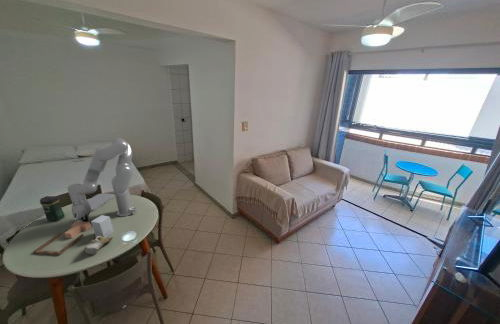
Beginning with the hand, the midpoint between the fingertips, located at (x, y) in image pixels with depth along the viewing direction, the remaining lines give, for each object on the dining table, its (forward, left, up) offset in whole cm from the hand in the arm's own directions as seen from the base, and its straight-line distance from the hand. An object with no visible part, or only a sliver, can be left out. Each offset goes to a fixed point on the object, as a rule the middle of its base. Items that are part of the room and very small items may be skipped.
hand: (86, 222), depth 139 cm
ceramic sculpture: (-26, +20, -2) cm, 33 cm away
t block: (0, +7, -1) cm, 7 cm away
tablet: (+16, -27, -2) cm, 31 cm away
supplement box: (-21, +9, -2) cm, 23 cm away
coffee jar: (+28, -4, -2) cm, 28 cm away
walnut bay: (0, +19, -1) cm, 19 cm away
